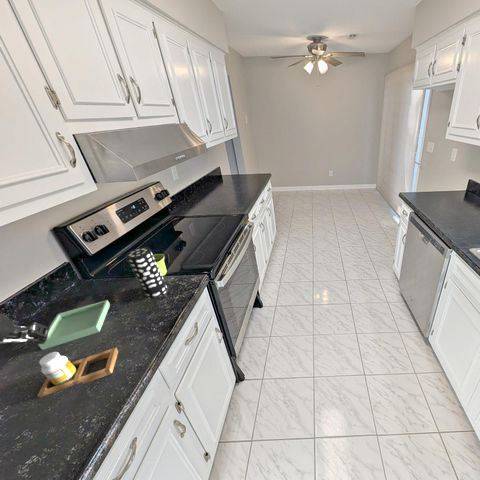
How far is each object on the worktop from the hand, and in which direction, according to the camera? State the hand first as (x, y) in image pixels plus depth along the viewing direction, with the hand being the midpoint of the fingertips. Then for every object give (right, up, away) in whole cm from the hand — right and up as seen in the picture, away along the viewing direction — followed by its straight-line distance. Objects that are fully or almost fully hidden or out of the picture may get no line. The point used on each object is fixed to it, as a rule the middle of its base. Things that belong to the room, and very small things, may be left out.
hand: (21, 343), depth 65 cm
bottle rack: (+5, -14, +11) cm, 18 cm away
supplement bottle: (+2, -15, +10) cm, 18 cm away
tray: (-13, -5, +30) cm, 33 cm away
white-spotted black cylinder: (+7, +4, +44) cm, 45 cm away
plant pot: (0, +10, +56) cm, 57 cm away
